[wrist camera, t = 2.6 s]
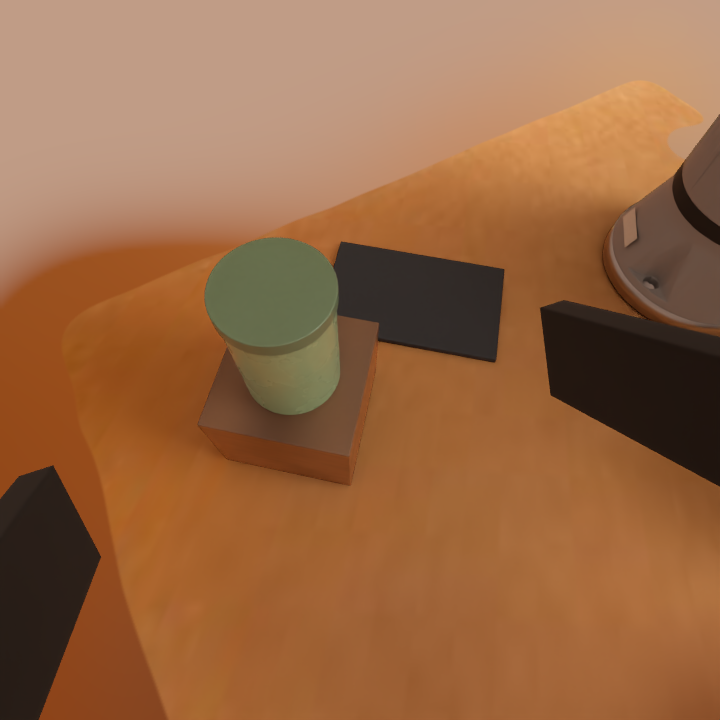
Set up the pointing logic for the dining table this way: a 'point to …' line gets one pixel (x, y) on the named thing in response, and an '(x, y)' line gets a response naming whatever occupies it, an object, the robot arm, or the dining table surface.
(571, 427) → the dining table surface
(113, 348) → the dining table surface
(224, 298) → the green tin
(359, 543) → the dining table surface
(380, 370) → the dining table surface
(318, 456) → the walnut block
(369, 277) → the rubber mat
